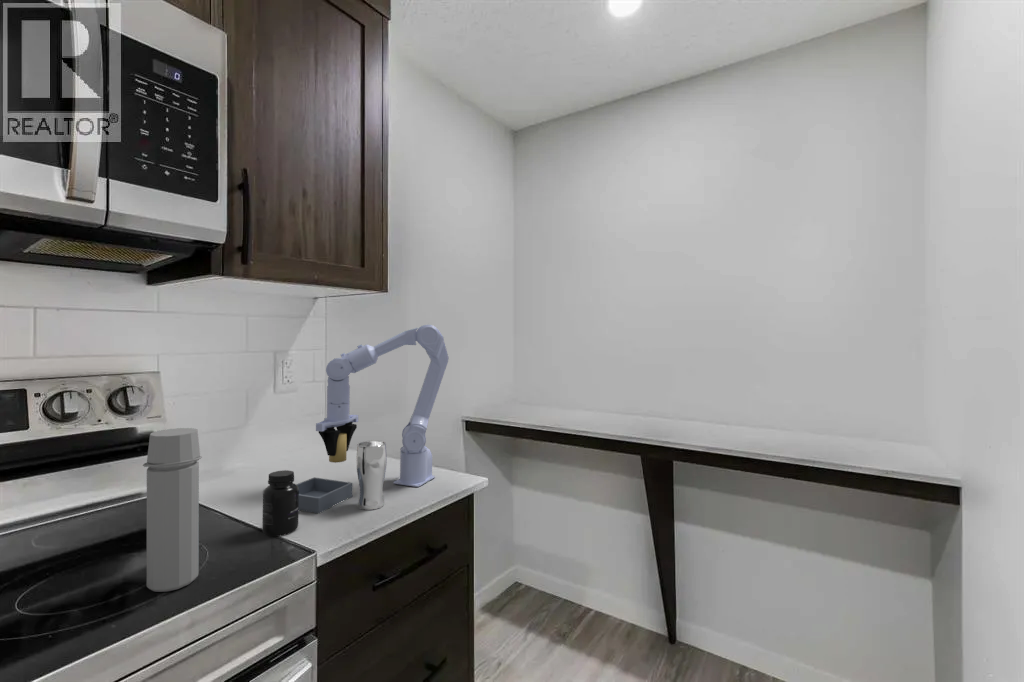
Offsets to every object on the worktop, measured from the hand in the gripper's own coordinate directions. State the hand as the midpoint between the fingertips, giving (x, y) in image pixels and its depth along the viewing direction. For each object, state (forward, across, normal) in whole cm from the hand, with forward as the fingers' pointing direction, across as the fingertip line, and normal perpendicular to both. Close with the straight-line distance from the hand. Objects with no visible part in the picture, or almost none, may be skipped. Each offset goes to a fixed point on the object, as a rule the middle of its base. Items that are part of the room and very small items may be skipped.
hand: (337, 453), depth 128 cm
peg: (+2, 0, 0) cm, 2 cm away
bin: (+9, +11, +3) cm, 15 cm away
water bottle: (+9, +49, +7) cm, 51 cm away
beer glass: (+9, +8, +17) cm, 21 cm away
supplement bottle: (+9, +27, +8) cm, 30 cm away
